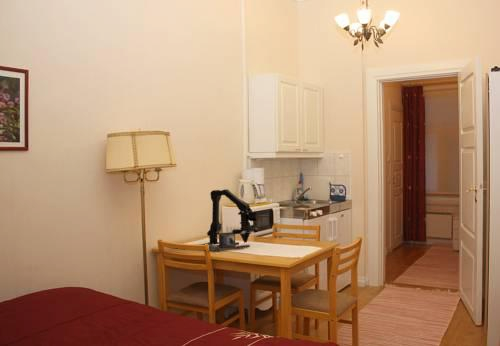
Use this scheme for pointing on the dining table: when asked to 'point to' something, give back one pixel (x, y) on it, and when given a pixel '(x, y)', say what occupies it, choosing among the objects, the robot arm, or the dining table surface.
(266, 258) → the dining table surface
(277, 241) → the dining table surface
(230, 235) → the small box
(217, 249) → the guide channel
